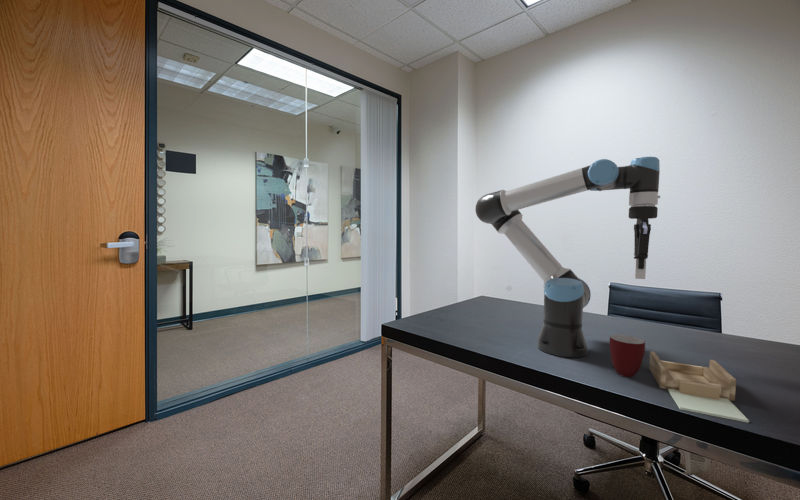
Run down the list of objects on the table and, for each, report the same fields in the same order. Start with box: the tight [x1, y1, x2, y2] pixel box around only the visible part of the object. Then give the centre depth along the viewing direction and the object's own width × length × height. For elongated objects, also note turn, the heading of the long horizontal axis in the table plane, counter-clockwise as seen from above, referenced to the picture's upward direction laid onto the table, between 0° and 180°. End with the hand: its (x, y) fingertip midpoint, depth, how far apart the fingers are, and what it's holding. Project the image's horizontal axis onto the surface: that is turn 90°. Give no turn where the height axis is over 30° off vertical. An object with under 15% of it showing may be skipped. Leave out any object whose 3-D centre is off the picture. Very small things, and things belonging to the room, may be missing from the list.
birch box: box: [648, 351, 737, 402], centre depth 86 cm, size 14×13×5 cm
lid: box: [667, 380, 750, 424], centre depth 75 cm, size 11×10×4 cm
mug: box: [608, 334, 646, 378], centre depth 92 cm, size 11×8×10 cm
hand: (639, 278), depth 108 cm, fingers closed
